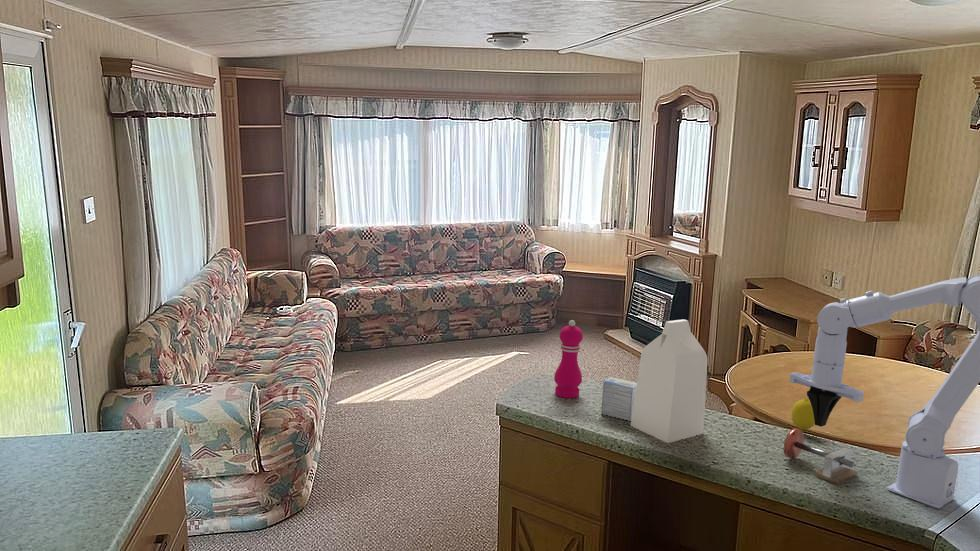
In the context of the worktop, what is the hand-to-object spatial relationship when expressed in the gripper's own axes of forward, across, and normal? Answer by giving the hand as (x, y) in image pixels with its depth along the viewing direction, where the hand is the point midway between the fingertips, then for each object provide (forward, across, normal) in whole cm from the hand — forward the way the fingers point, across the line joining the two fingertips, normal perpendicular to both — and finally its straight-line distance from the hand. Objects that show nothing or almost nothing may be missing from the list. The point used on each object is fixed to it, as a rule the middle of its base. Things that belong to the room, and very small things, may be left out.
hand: (820, 424), depth 151 cm
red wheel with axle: (+9, 0, 0) cm, 9 cm away
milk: (+10, +30, +10) cm, 34 cm away
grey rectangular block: (+10, +42, +13) cm, 45 cm away
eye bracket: (+9, -4, 0) cm, 10 cm away
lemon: (+10, +12, -18) cm, 24 cm away
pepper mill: (+10, +60, +13) cm, 63 cm away
